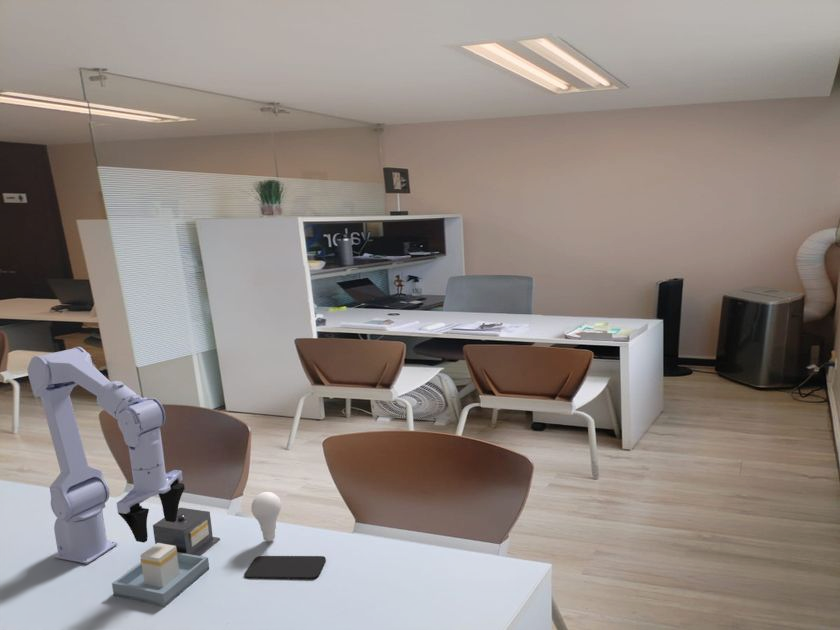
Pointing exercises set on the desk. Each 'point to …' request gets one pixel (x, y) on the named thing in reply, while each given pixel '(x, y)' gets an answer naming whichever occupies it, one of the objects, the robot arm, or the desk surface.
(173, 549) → the part block
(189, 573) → the tray
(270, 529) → the lightbulb
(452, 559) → the desk surface
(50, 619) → the desk surface
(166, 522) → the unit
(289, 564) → the phone
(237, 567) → the desk surface
